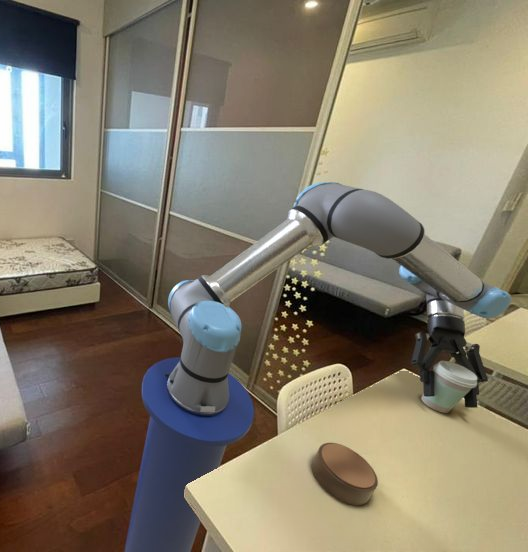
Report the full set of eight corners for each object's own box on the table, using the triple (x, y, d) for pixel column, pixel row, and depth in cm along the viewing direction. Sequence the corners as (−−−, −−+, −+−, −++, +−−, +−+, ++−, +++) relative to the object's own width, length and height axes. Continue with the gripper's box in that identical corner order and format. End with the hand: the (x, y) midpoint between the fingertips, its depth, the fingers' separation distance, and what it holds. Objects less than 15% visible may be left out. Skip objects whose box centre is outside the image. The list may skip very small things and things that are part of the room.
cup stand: (304, 474, 63) (311, 459, 62) (321, 447, 70) (328, 433, 68) (361, 517, 57) (371, 502, 55) (374, 482, 64) (383, 468, 62)
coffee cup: (421, 389, 92) (442, 356, 88) (460, 410, 86) (485, 375, 81) (409, 398, 88) (431, 364, 83) (449, 421, 82) (475, 385, 77)
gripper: (478, 332, 91) (486, 414, 83) (394, 313, 96) (393, 390, 88) (503, 325, 84) (514, 414, 77) (410, 306, 89) (412, 388, 81)
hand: (449, 401), depth 82 cm, fingers closed on coffee cup, 8 cm apart
